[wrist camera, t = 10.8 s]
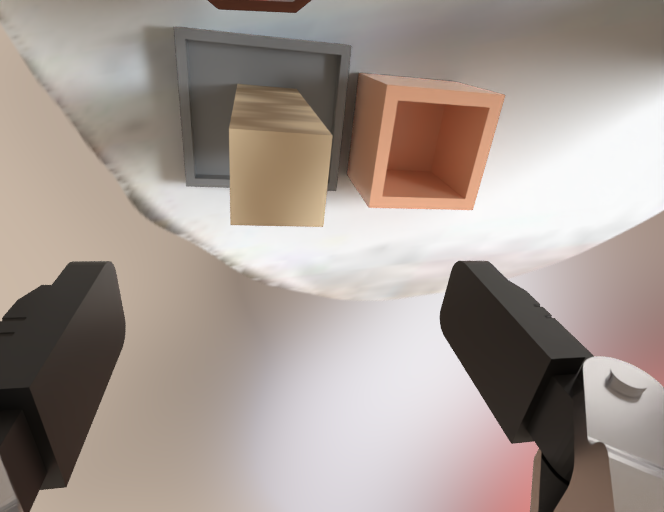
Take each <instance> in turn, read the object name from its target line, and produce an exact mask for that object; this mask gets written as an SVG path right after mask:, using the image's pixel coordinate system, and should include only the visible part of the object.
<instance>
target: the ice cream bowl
mask: <svg viewBox="0 0 664 512" xmlns="http://www.w3.org/2000/svg"><path fill="white" fill-rule="evenodd" d="M208 1H209V2H210V3H211V4H213V5H214V6H215V7H216V8H218V9H221V10H244V11H266V12H288V13H296V12H298V11H299V10H300V9H301V8H302V7H304V6H305V5H306V4H307V3H309V2H310V1H311V0H208Z"/></svg>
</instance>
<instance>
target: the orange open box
mask: <svg viewBox="0 0 664 512" xmlns="http://www.w3.org/2000/svg"><path fill="white" fill-rule="evenodd" d="M504 98H505V95H504V94H500V93H496V92H493V91H489V90H485V89H481V88H478V87H474V86H470V85H466V84H463V83H459V82H455V81H444V80H433V79H422V78H411V77H400V76H390V75H379V74H368V73H359V75H358V84H357V92H356V101H355V109H354V118H353V126H352V135H351V143H350V152H349V161H348V169H347V176H348V177H349V179H350V180H351V182H352V183H353V185H354V186H355V188H356V189H357V191H358V192H359V194H360V195H361V197H362V198H363V200H364V201H365V203H366V204H367V206H368V207H369V208H407V209H452V210H473V207H474V204H475V200H476V197H477V193H478V190H479V186H480V183H481V179H482V176H483V172H484V169H485V165H486V161H487V158H488V154H489V151H490V147H491V144H492V140H493V137H494V133H495V130H496V126H497V123H498V119H499V116H500V112H501V108H502V105H503V101H504Z"/></svg>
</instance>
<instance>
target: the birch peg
mask: <svg viewBox="0 0 664 512" xmlns="http://www.w3.org/2000/svg"><path fill="white" fill-rule="evenodd" d="M332 137H333V135H332V134H331V133H330V132H329V130H328V129H327V128H326V126H325V125H324V124H323V122H322V121H321V120H320V119H319V117H318V116H317V115H316V113H315V112H314V111H313V110H312V108H311V107H310V106H309V104H308V103H307V102H306V100H305V99H304V98H303V97H302V95H301V94H300V93H299V91H298V90H297V89H291V88H280V87H269V86H258V85H247V84H237V89H236V94H235V100H234V105H233V110H232V115H231V121H230V126H229V160H230V219H231V225H257V226H307V227H323V224H324V214H325V204H326V195H327V185H328V175H329V166H330V156H331V146H332Z"/></svg>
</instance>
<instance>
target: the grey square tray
mask: <svg viewBox="0 0 664 512" xmlns="http://www.w3.org/2000/svg"><path fill="white" fill-rule="evenodd" d="M174 37H175V50H176V62H177V75H178V87H179V100H180V112H181V125H182V137H183V150H184V162H185V175H186V186H194V187H226V188H230V160H229V126H230V121H231V115H232V110H233V105H234V100H235V94H236V89H237V84H247V85H258V86H269V87H280V88H291V89H297V90H298V91H299V93H300V94H301V95H302V97H303V98H304V99H305V100H306V102H307V103H308V104H309V106H310V107H311V108H312V110H313V111H314V112H315V113H316V115H317V116H318V117H319V119H320V120H321V121H322V122H323V124H324V125H325V126H326V128H327V129H328V130H329V132H330V133H331V134H332V135H333V137H332V146H331V156H330V166H329V175H328V185H327V191H336V188H337V178H338V169H339V159H340V150H341V140H342V131H343V122H344V112H345V103H346V93H347V84H348V74H349V65H350V56H351V45H345V44H336V43H326V42H317V41H307V40H298V39H288V38H279V37H270V36H260V35H251V34H241V33H232V32H222V31H213V30H204V29H194V28H185V27H174Z"/></svg>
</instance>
